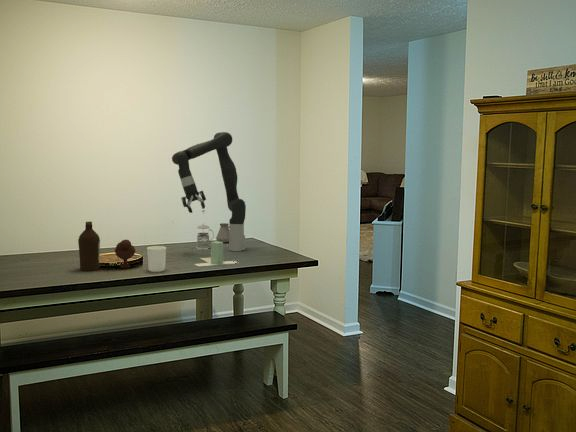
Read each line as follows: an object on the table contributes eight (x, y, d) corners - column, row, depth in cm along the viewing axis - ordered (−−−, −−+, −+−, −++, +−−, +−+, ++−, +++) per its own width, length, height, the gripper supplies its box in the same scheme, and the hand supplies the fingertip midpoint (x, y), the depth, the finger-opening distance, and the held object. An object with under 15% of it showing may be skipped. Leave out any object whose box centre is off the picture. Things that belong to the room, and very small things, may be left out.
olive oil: (81, 272, 288) (80, 223, 285) (77, 268, 297) (75, 221, 294) (102, 270, 293) (101, 222, 291) (97, 266, 302) (96, 220, 299)
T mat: (185, 259, 326) (185, 259, 326) (224, 256, 337) (224, 256, 337) (198, 266, 307) (198, 266, 307) (239, 263, 318) (239, 263, 318)
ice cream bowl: (139, 265, 306) (139, 238, 304) (127, 269, 296) (127, 241, 294) (123, 264, 310) (122, 237, 308) (110, 268, 299) (110, 240, 297)
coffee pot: (213, 241, 393) (213, 220, 391) (228, 240, 399) (228, 219, 397) (226, 246, 374) (226, 223, 373) (241, 245, 380) (242, 223, 379)
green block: (215, 262, 319) (215, 241, 317) (223, 263, 316) (223, 242, 315) (210, 263, 314) (210, 242, 313) (218, 264, 312) (218, 243, 311)
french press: (195, 246, 369) (195, 209, 367) (213, 246, 371) (213, 209, 368) (195, 249, 360) (195, 210, 357) (213, 249, 361) (213, 210, 358)
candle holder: (168, 268, 300) (168, 246, 299) (162, 272, 290) (162, 249, 289) (150, 268, 301) (150, 245, 299) (144, 271, 291) (144, 248, 290)
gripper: (180, 187, 326) (189, 213, 327) (201, 180, 334) (210, 206, 335) (175, 188, 332) (184, 215, 333) (196, 182, 340) (205, 207, 341)
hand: (197, 210), depth 334 cm, fingers open, 8 cm apart
